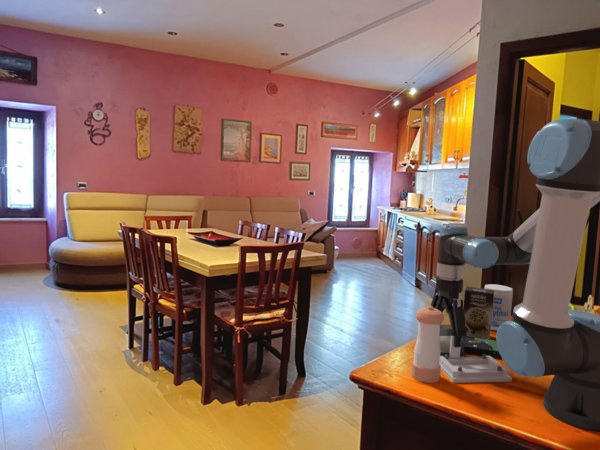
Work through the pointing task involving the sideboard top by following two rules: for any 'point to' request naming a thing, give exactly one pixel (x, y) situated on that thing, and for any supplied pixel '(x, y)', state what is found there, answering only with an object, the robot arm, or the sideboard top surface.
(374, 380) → the sideboard top surface
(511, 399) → the sideboard top surface
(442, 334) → the grey plastic case
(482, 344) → the disk drive
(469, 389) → the sideboard top surface
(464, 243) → the robot arm
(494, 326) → the supplement tub
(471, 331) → the dark cardboard box
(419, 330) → the salt shaker
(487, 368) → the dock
